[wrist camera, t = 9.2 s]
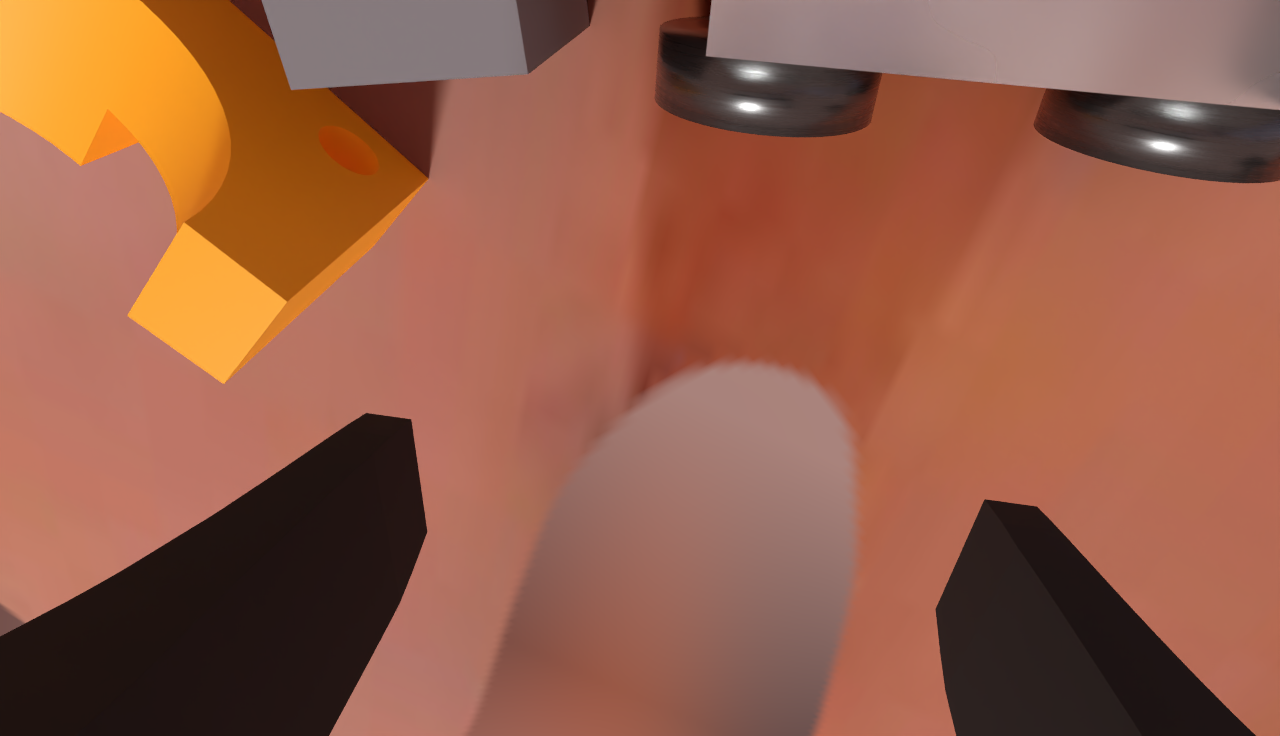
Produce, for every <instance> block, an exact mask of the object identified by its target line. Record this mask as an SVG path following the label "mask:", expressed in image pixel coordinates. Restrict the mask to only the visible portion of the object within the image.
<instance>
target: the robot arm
mask: <svg viewBox="0 0 1280 736" xmlns="http://www.w3.org/2000/svg"><path fill="white" fill-rule="evenodd" d="M426 534H427V527H426V520H425V513H424V506H423V499H422V492H421V485H420V478H419V471H418V464H417V457H416V450H415V443H414V436H413V429H412V422H411V419H405V418H398V417H390V416H383V415H376V414H369V413H366V414H364V415H362V416H361V417H359V418H358V419H356V420H354V421H353V422H351V423H350V424H348V425H347V426H345V427H344V428H342V429H341V430H339V431H338V432H336V433H335V434H333V435H332V436H330V437H329V438H327V439H326V440H324V441H323V442H321V443H320V444H318V445H317V446H316V447H314V448H313V449H311V450H310V451H308V452H307V453H305V454H304V455H302V456H301V457H299V458H298V459H296V460H295V461H294V462H292V463H291V464H289V465H288V466H286V467H285V468H283V469H282V470H280V471H279V472H277V473H276V474H274V475H273V476H271V477H270V478H268V479H267V480H265V481H264V482H262V483H261V484H259V485H258V486H256V487H255V488H253V489H252V490H250V491H249V492H247V493H246V494H244V495H243V496H241V497H240V498H238V499H237V500H235V501H234V502H232V503H231V504H229V505H228V506H226V507H225V508H223V509H222V510H220V511H219V512H217V513H215V514H214V515H212V516H211V517H209V518H207V519H206V520H204V521H203V522H201V523H199V524H198V525H196V526H194V527H193V528H191V529H189V530H188V531H186V532H185V533H183V534H181V535H180V536H178V537H176V538H175V539H173V540H171V541H170V542H168V543H167V544H165V545H163V546H162V547H160V548H158V549H157V550H155V551H153V552H152V553H150V554H149V555H147V556H145V557H144V558H142V559H140V560H139V561H137V562H135V563H134V564H132V565H131V566H129V567H127V568H126V569H124V570H122V571H121V572H119V573H117V574H115V575H114V576H112V577H110V578H108V579H107V580H105V581H103V582H101V583H100V584H98V585H96V586H94V587H92V588H91V589H89V590H87V591H85V592H83V593H82V594H80V595H78V596H76V597H74V598H73V599H71V600H69V601H67V602H65V603H63V604H61V605H60V606H58V607H56V608H54V609H52V610H50V611H48V612H46V613H44V614H42V615H40V616H39V617H37V618H35V619H33V620H31V621H29V622H27V623H25V624H23V625H21V626H20V627H18V628H16V629H14V630H12V631H10V632H8V633H6V634H4V635H2V636H0V736H329V735H330V733H331V731H332V729H333V727H334V725H335V724H336V722H337V720H338V718H339V716H340V714H341V712H342V711H343V709H344V707H345V705H346V703H347V701H348V699H349V698H350V696H351V694H352V692H353V690H354V688H355V686H356V685H357V683H358V681H359V679H360V677H361V675H362V673H363V672H364V670H365V668H366V666H367V664H368V662H369V660H370V659H371V657H372V655H373V653H374V651H375V649H376V647H377V645H378V644H379V642H380V640H381V638H382V636H383V634H384V632H385V630H386V628H387V627H388V625H389V623H390V621H391V619H392V617H393V615H394V613H395V611H396V609H397V607H398V605H399V603H400V601H401V599H402V596H403V594H404V591H405V589H406V586H407V584H408V581H409V579H410V576H411V574H412V571H413V569H414V566H415V563H416V561H417V558H418V555H419V553H420V550H421V547H422V545H423V542H424V539H425V536H426ZM936 617H937V626H938V635H939V645H940V654H941V661H942V669H943V676H944V683H945V690H946V695H947V699H948V703H949V707H950V712H951V716H952V720H953V724H954V728H955V732H956V736H1256V735H1255V734H1254V733H1253V732H1251V731H1250V730H1249V729H1248V728H1247V727H1246V726H1245V725H1244V724H1243V723H1242V722H1241V721H1240V720H1239V719H1238V718H1237V717H1236V716H1235V715H1234V714H1233V713H1232V712H1231V711H1230V710H1229V709H1228V708H1227V707H1226V706H1225V705H1224V704H1223V703H1222V702H1221V701H1220V700H1219V699H1218V698H1217V697H1216V696H1215V695H1214V694H1213V693H1212V692H1211V691H1210V690H1209V689H1208V688H1207V687H1206V686H1205V685H1204V684H1203V683H1202V682H1201V681H1200V680H1199V679H1198V678H1197V677H1196V676H1195V675H1194V674H1193V673H1192V672H1191V671H1190V670H1189V668H1188V667H1187V666H1186V665H1185V664H1184V663H1183V662H1182V661H1181V660H1180V659H1179V658H1178V657H1177V656H1176V655H1175V654H1174V653H1173V652H1172V651H1171V650H1170V649H1169V648H1168V647H1167V646H1166V644H1165V643H1164V642H1163V641H1162V640H1161V639H1160V638H1159V637H1158V636H1157V635H1156V634H1155V633H1154V632H1153V631H1152V630H1151V629H1150V628H1149V626H1148V625H1147V624H1146V623H1145V622H1144V621H1143V620H1142V619H1141V618H1140V617H1139V616H1138V615H1137V614H1136V613H1135V611H1134V610H1133V609H1132V608H1131V607H1130V606H1129V605H1128V604H1127V603H1126V602H1125V601H1124V600H1123V598H1122V597H1121V596H1120V595H1119V594H1118V593H1117V592H1116V591H1115V590H1114V589H1113V588H1112V587H1111V585H1110V584H1109V583H1108V582H1107V581H1106V580H1105V579H1104V578H1103V577H1102V576H1101V575H1100V573H1099V572H1098V571H1097V570H1096V569H1095V568H1094V567H1093V566H1092V565H1091V564H1090V563H1089V561H1088V560H1087V559H1086V558H1085V557H1084V556H1083V555H1082V554H1081V553H1080V552H1079V551H1078V549H1077V548H1076V547H1075V546H1074V545H1073V544H1072V543H1071V542H1070V541H1069V540H1068V539H1067V537H1066V536H1065V535H1064V534H1063V533H1062V532H1061V531H1060V530H1059V529H1058V528H1057V527H1056V526H1055V525H1054V524H1053V523H1052V522H1051V520H1050V519H1049V518H1048V517H1047V516H1046V515H1045V514H1044V513H1043V512H1042V511H1041V510H1040V509H1039V508H1038V507H1035V506H1028V505H1021V504H1014V503H1007V502H1000V501H992V500H984V502H983V504H982V506H981V509H980V511H979V513H978V515H977V518H976V520H975V522H974V524H973V527H972V529H971V531H970V533H969V536H968V538H967V540H966V542H965V545H964V547H963V549H962V551H961V554H960V556H959V558H958V560H957V563H956V565H955V567H954V569H953V572H952V574H951V576H950V578H949V580H948V583H947V585H946V587H945V589H944V592H943V594H942V596H941V598H940V601H939V603H938V605H937V607H936Z"/></svg>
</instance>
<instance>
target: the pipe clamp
mask: <svg viewBox="0 0 1280 736" xmlns="http://www.w3.org/2000/svg"><path fill="white" fill-rule="evenodd" d="M0 112H2V113H3V114H5V115H7V116H9V117H11V118H12V119H14V120H16V121H18V122H19V123H21V124H23V125H24V126H26V127H28V128H29V129H31V130H33V131H34V132H36V133H37V134H39V135H40V136H42V137H43V138H45V139H46V140H48V141H49V142H51V143H52V144H53V145H55V146H56V147H57V148H59V149H60V150H61V151H63V152H64V153H65V154H66V155H68V156H69V157H70V158H72V159H73V160H74V161H75V162H76V163H78V164H79V165H80V166H82V165H84V164H86V163H89V162H91V161H94V160H96V159H99V158H101V157H104V156H106V155H109V154H111V153H113V152H116V151H118V150H121V149H123V148H126V147H128V146H131V145H133V144H136V143H138V142H139V143H140V144H141V145H142V146H143V148H144V149H145V150H146V152H147V153H148V155H149V156H150V158H151V159H152V161H153V162H154V164H155V165H156V167H157V169H158V170H159V172H160V174H161V176H162V178H163V180H164V181H165V184H166V186H167V189H168V191H169V194H170V196H171V199H172V203H173V207H174V210H175V215H176V224H177V235H176V236H175V238H174V240H173V241H172V243H171V244H170V246H169V248H168V249H167V251H166V253H165V254H164V256H163V258H162V259H161V261H160V263H159V264H158V266H157V268H156V269H155V271H154V273H153V274H152V276H151V277H150V279H149V281H148V282H147V284H146V286H145V287H144V289H143V291H142V292H141V294H140V296H139V297H138V299H137V301H136V302H135V304H134V306H133V307H132V309H131V310H130V312H129V314H128V315H127V316H129V317H130V318H131V319H133V320H134V321H136V322H137V323H138V324H140V325H141V326H143V327H144V328H145V329H147V330H148V331H150V332H151V333H152V334H154V335H155V336H157V337H158V338H160V339H161V340H162V341H164V342H165V343H167V344H168V345H169V346H171V347H172V348H174V349H175V350H176V351H178V352H179V353H181V354H182V355H183V356H185V357H186V358H188V359H189V360H190V361H192V362H193V363H195V364H196V365H198V366H199V367H200V368H202V369H203V370H205V371H206V372H207V373H209V374H210V375H212V376H213V377H214V378H216V379H217V380H219V381H220V382H221V383H223V384H224V383H225V382H226V381H228V380H229V379H230V378H231V377H232V376H233V375H234V374H235V373H236V372H237V371H238V370H239V369H241V368H242V367H243V366H244V365H245V364H246V363H247V362H248V361H249V360H250V359H251V358H252V357H254V356H255V355H256V354H257V353H258V352H259V351H260V350H261V349H262V348H263V347H264V346H266V345H267V344H268V343H269V342H270V341H271V340H272V339H273V338H274V337H275V336H276V335H277V334H279V333H280V332H281V331H282V330H283V329H284V328H285V327H286V326H287V325H288V324H289V323H290V322H292V321H293V320H294V319H295V318H296V317H297V316H298V315H299V314H300V313H301V312H302V311H304V310H305V309H306V308H307V307H308V306H309V305H310V304H311V303H312V302H313V301H314V300H315V299H317V298H318V297H319V296H320V295H321V294H322V293H323V292H324V291H325V290H326V289H327V288H328V287H330V286H331V285H332V284H333V283H334V282H335V281H336V280H337V279H338V278H339V277H340V276H341V275H343V274H344V273H345V272H346V271H347V270H348V269H349V268H350V267H351V266H352V265H353V264H355V263H356V262H357V261H358V260H359V259H360V258H361V257H362V256H363V255H364V254H365V253H366V252H368V251H369V250H370V249H371V248H372V247H373V246H374V245H375V244H376V242H377V241H378V240H379V239H380V237H381V236H382V235H383V234H384V233H385V231H386V230H387V229H388V228H389V226H390V225H391V224H392V223H393V222H394V220H395V219H396V218H397V217H398V215H399V214H400V213H401V212H402V211H403V209H404V208H405V207H406V206H407V204H408V203H409V202H410V201H411V200H412V198H413V197H414V196H415V195H416V193H417V192H418V191H419V190H420V189H421V187H422V186H423V185H424V184H425V182H426V181H427V180H428V178H427V177H426V176H425V175H424V174H423V173H422V172H421V171H419V170H418V169H417V168H416V167H415V166H414V165H413V164H412V163H411V162H409V161H408V160H407V159H406V158H405V157H404V156H403V155H402V154H400V153H399V152H398V151H397V150H396V149H395V148H394V147H393V146H391V145H390V144H389V143H388V142H387V141H386V140H385V139H384V138H383V137H381V136H380V135H379V134H378V133H377V132H376V131H375V130H374V129H372V128H371V127H370V126H369V125H368V124H367V123H366V122H365V121H363V120H362V119H361V118H360V117H359V116H358V115H357V114H356V113H355V112H353V111H352V110H351V109H350V108H349V107H348V106H347V105H346V104H344V103H343V102H342V101H341V100H340V99H339V98H338V97H337V96H335V95H334V94H333V93H332V92H331V91H330V90H329V89H328V88H313V89H298V90H291V88H290V85H289V82H288V79H287V76H286V73H285V70H284V67H283V64H282V61H281V58H280V55H279V52H278V49H277V46H276V43H275V41H274V40H273V39H272V38H270V37H269V36H268V35H267V34H266V33H265V32H264V31H263V30H262V29H260V28H259V27H258V26H257V25H256V24H255V23H254V22H253V21H251V20H250V19H249V18H248V17H247V16H246V15H245V14H244V13H242V12H241V11H240V10H239V9H238V8H237V7H236V6H235V5H234V4H232V3H231V2H230V1H229V0H0Z"/></svg>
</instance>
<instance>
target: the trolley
mask: <svg viewBox="0 0 1280 736" xmlns="http://www.w3.org/2000/svg"><path fill="white" fill-rule="evenodd" d="M882 73H890V74H901V75H912V76H922V77H933V78H944V79H954V80H965V81H976V82H986V83H997V84H1008V85H1018V86H1029V87H1040V88H1046V91H1045V93H1044V96H1043V99H1042V102H1041V105H1040V107H1039V110H1038V113H1037V116H1036V119H1035V121H1034V127H1035V129H1036V130H1037V131H1038V132H1039V133H1040V134H1041V135H1043V136H1044V137H1046V138H1048V139H1049V140H1051V141H1053V142H1055V143H1057V144H1059V145H1061V146H1064V147H1066V148H1069V149H1071V150H1074V151H1077V152H1080V153H1083V154H1085V155H1088V156H1092V157H1095V158H1098V159H1101V160H1105V161H1109V162H1112V163H1116V164H1120V165H1124V166H1128V167H1132V168H1136V169H1141V170H1146V171H1151V172H1155V173H1161V174H1167V175H1172V176H1178V177H1185V178H1192V179H1199V180H1208V181H1218V182H1232V183H1264V182H1273V181H1279V180H1280V0H712V2H711V12H710V16H707V17H689V18H680V19H675V20H670V21H667V22H665V23H663V24H662V25H660V32H659V46H658V60H657V74H656V88H655V100H656V102H657V104H658V105H659V106H660V107H662V108H663V109H664V110H666V111H668V112H669V113H671V114H673V115H676V116H678V117H680V118H683V119H686V120H689V121H692V122H695V123H699V124H702V125H706V126H710V127H715V128H719V129H724V130H729V131H736V132H742V133H749V134H757V135H768V136H781V137H824V136H835V135H842V134H847V133H851V132H855V131H858V130H861V129H863V128H865V127H866V126H868V125H869V124H870V122H871V118H872V114H873V110H874V106H875V101H876V97H877V93H878V89H879V84H880V80H881V76H882Z"/></svg>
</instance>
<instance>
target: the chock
mask: <svg viewBox="0 0 1280 736" xmlns="http://www.w3.org/2000/svg"><path fill="white" fill-rule="evenodd" d="M262 3H263V6H264V9H265V12H266V15H267V18H268V21H269V25H270V28H271V31H272V34H273V37H274V40H275V43H276V46H277V49H278V52H279V55H280V58H281V61H282V64H283V67H284V70H285V73H286V76H287V79H288V82H289V85H290V88H291V90H298V89H313V88H328V87H343V86H358V85H373V84H388V83H403V82H418V81H433V80H448V79H463V78H478V77H493V76H508V75H523V74H529V73H530V72H531V71H533V70H534V69H535V68H537V67H538V66H539V65H540V64H542V63H543V62H544V61H545V60H547V59H548V58H549V57H551V56H552V55H553V54H554V53H556V52H557V51H558V50H560V49H561V48H562V47H563V46H565V45H566V44H567V43H568V42H570V41H571V40H572V39H574V38H575V37H576V36H577V35H579V34H580V33H581V32H583V31H584V30H585V29H586V28H588V27H589V26H590V24H589V15H588V7H587V0H262Z"/></svg>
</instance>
